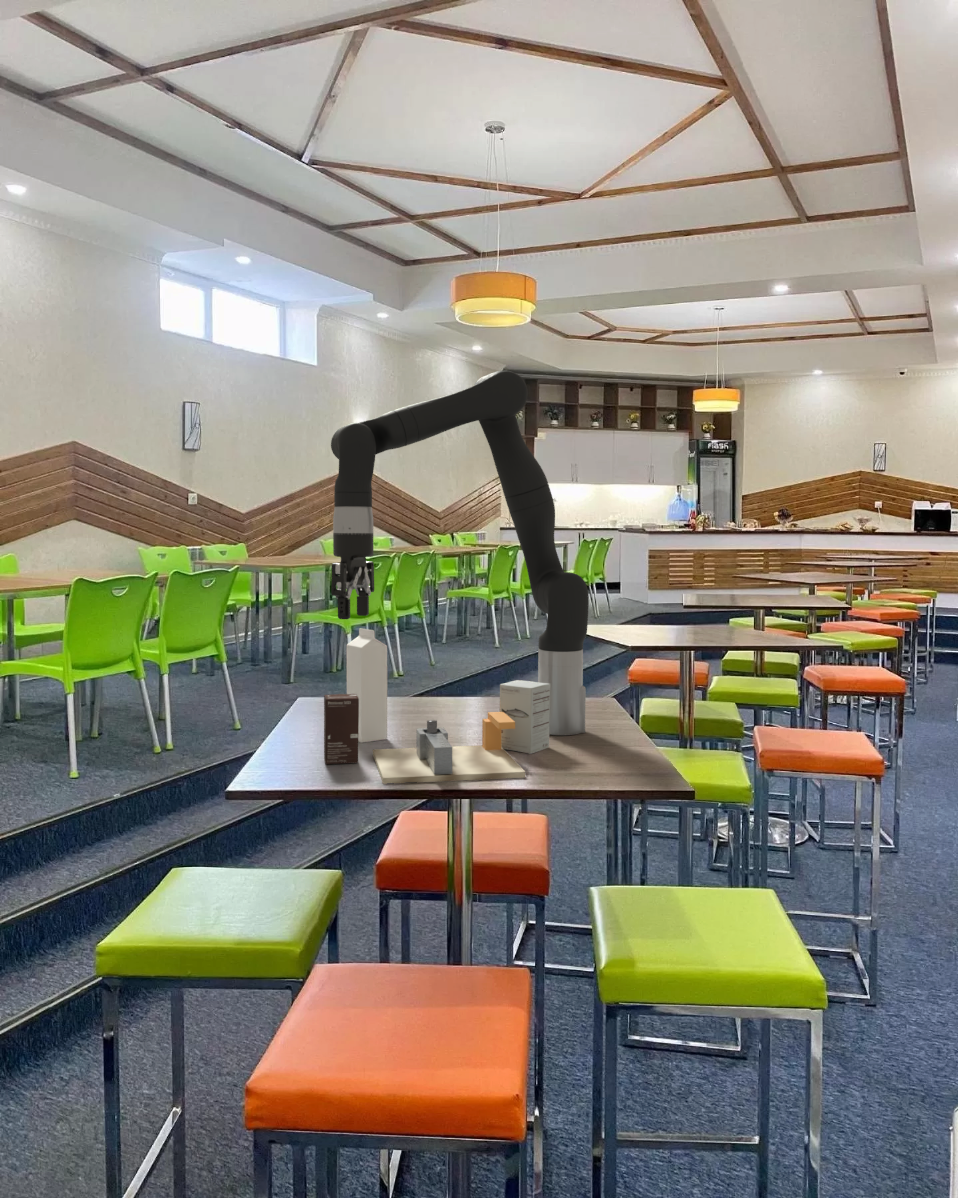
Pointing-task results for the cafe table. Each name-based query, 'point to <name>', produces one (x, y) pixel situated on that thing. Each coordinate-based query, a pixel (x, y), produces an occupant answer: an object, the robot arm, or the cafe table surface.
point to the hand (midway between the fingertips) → (353, 617)
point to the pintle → (431, 726)
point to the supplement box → (526, 715)
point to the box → (341, 728)
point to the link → (435, 750)
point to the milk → (368, 684)
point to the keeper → (495, 729)
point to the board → (464, 765)
